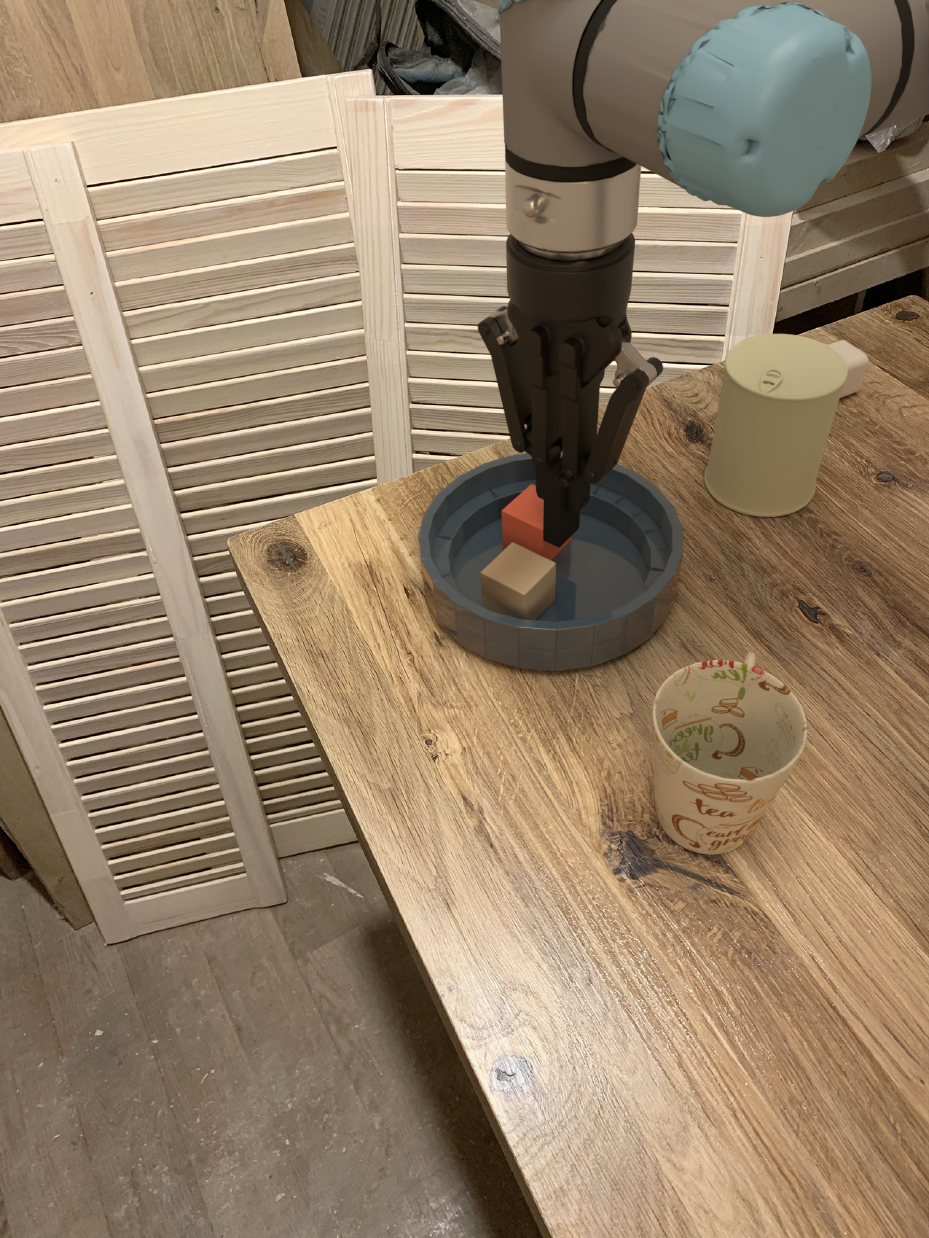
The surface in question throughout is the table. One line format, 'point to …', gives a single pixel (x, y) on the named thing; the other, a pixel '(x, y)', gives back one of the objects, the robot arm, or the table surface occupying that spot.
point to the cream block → (518, 583)
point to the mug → (722, 751)
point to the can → (773, 423)
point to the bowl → (585, 568)
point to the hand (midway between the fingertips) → (561, 534)
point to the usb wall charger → (851, 366)
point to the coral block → (527, 524)
